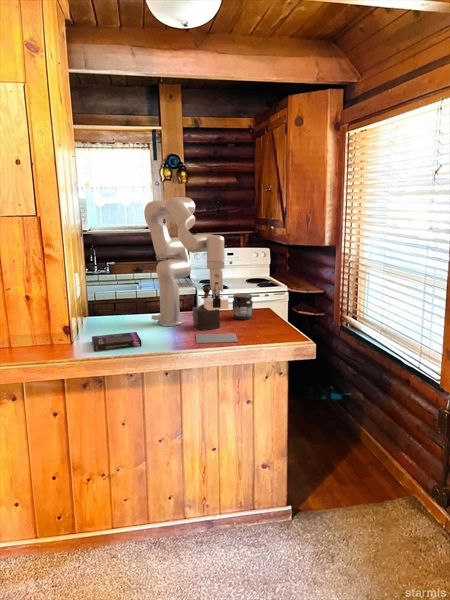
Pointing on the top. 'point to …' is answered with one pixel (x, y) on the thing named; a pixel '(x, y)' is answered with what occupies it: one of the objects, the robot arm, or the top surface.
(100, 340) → the box
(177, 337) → the top surface
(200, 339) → the mat
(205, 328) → the vintage coffee grinder
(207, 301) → the card box
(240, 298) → the supplement container
